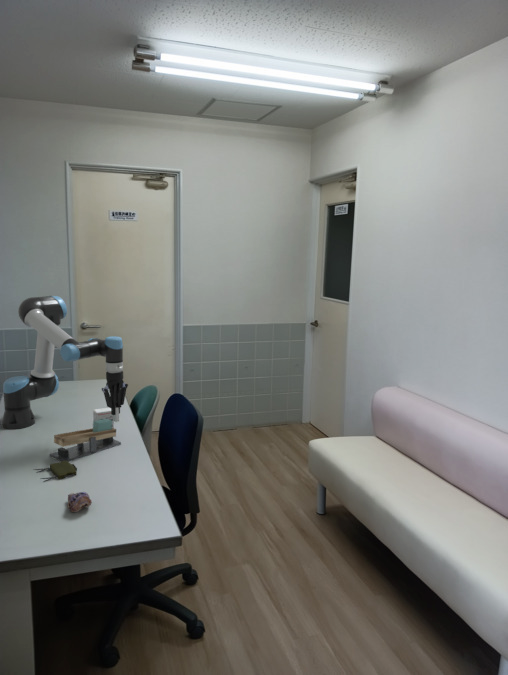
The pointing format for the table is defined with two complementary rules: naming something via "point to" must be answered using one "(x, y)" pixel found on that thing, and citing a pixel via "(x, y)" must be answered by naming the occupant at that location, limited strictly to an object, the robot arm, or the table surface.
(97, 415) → the ink box
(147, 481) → the table surface
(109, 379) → the robot arm
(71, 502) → the purple brown lumpy chunk
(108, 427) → the teal rectangular block
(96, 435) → the beam
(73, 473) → the electronic device
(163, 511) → the table surface
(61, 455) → the stand
